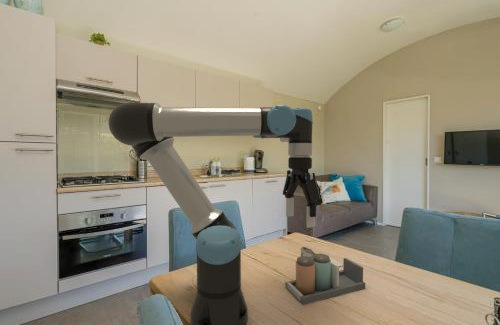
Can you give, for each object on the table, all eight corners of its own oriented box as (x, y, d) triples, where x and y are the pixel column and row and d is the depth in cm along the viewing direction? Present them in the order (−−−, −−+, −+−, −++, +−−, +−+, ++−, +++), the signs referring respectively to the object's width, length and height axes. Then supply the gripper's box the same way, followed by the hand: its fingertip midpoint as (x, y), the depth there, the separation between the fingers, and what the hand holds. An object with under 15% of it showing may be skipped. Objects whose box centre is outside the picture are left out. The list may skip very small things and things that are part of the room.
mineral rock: (322, 272, 93) (322, 261, 93) (300, 270, 95) (300, 259, 95) (319, 256, 108) (319, 246, 108) (300, 255, 109) (300, 245, 109)
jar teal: (318, 293, 78) (319, 261, 78) (307, 284, 84) (307, 254, 83) (334, 289, 80) (334, 258, 80) (322, 280, 86) (323, 252, 86)
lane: (302, 304, 74) (302, 282, 73) (285, 287, 83) (285, 267, 83) (365, 288, 82) (365, 268, 82) (343, 274, 92) (343, 256, 91)
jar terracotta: (318, 294, 78) (319, 262, 78) (301, 297, 76) (301, 265, 76) (308, 284, 84) (308, 254, 83) (292, 287, 82) (292, 257, 81)
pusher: (336, 290, 80) (336, 266, 79) (322, 279, 87) (322, 257, 86) (342, 288, 81) (343, 265, 80) (327, 277, 87) (327, 256, 87)
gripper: (334, 157, 71) (333, 231, 72) (292, 156, 95) (291, 212, 96) (311, 157, 69) (310, 234, 70) (273, 156, 93) (273, 213, 93)
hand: (299, 221), depth 83 cm, fingers open, 13 cm apart
